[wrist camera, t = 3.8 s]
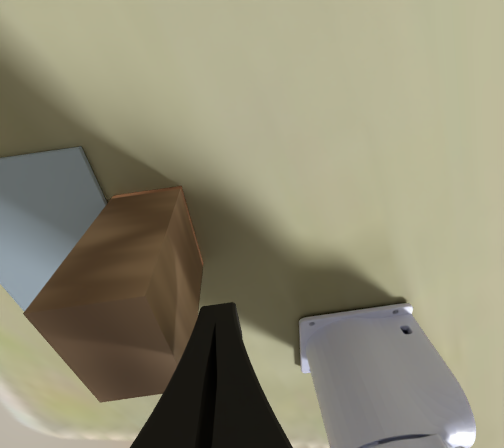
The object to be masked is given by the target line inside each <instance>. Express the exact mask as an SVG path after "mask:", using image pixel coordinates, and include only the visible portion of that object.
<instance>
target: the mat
mask: <svg viewBox="0 0 504 448" xmlns="http://www.w3.org/2000/svg"><path fill="white" fill-rule="evenodd" d="M106 205H107V201H106V199H105V197H104V195H103V192H102V190H101V188H100V186H99V184H98V182H97V179H96V177H95V175H94V173H93V171H92V169H91V166H90V164H89V162H88V160H87V158H86V156H85V153H84V151H83V149H82V147H81V146H80V147H73V148H66V149H59V150H52V151H45V152H38V153H31V154H24V155H17V156H10V157H3V158H0V284H1V285H2V286H3V287H4V289H5V290H6V291H7V292H8V293H9V294H10V296H11V297H12V298H13V299H14V300H15V301H16V303H17V304H18V305H19V306H20V307H21V308H22V310H23V311H24V312H25V310H26V309H27V308H28V306H29V305H30V304H31V302H32V301H33V300H34V299H35V297H36V296H37V295H38V293H39V292H40V291H41V289H42V288H43V287H44V286H45V284H46V283H47V282H48V280H49V279H50V278H51V276H52V275H53V274H54V272H55V271H56V270H57V269H58V267H59V266H60V265H61V263H62V262H63V261H64V259H65V258H66V257H67V256H68V254H69V253H70V252H71V250H72V249H73V248H74V246H75V245H76V244H77V242H78V241H79V240H80V239H81V237H82V236H83V235H84V233H85V232H86V231H87V229H88V228H89V227H90V226H91V224H92V223H93V222H94V220H95V219H96V218H97V216H98V215H99V214H100V212H101V211H102V210H103V209H104V207H105V206H106Z"/></svg>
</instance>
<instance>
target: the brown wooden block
mask: <svg viewBox="0 0 504 448" xmlns="http://www.w3.org/2000/svg"><path fill="white" fill-rule="evenodd" d="M202 272H203V260H202V257H201V253H200V250H199V246H198V243H197V239H196V236H195V232H194V228H193V225H192V221H191V218H190V214H189V211H188V207H187V204H186V200H185V197H184V193H183V190H182V186H177V187H170V188H163V189H156V190H149V191H142V192H135V193H128V194H121V195H114V196H113V197H112V198H111V199H110V201H109V202H108V203H107V205H106V206H105V207H104V209H103V210H102V211H101V212H100V214H99V215H98V216H97V218H96V219H95V220H94V222H93V223H92V224H91V226H90V227H89V228H88V229H87V231H86V232H85V233H84V235H83V236H82V237H81V239H80V240H79V241H78V242H77V244H76V245H75V246H74V248H73V249H72V250H71V252H70V253H69V254H68V256H67V257H66V258H65V259H64V261H63V262H62V263H61V265H60V266H59V267H58V269H57V270H56V271H55V272H54V274H53V275H52V276H51V278H50V279H49V280H48V282H47V283H46V284H45V286H44V287H43V288H42V289H41V291H40V292H39V293H38V295H37V296H36V297H35V299H34V300H33V301H32V302H31V304H30V305H29V306H28V308H27V309H26V310H25V312H24V313H23V314H24V315H25V316H26V318H27V319H28V320H29V321H30V322H31V323H32V325H33V326H34V327H35V328H36V329H37V330H38V331H39V333H40V334H41V335H42V336H43V337H44V338H45V339H46V341H47V342H48V343H49V344H50V345H51V346H52V348H53V349H54V350H55V351H56V352H57V353H58V354H59V356H60V357H61V358H62V359H63V360H64V361H65V363H66V364H67V365H68V366H69V367H70V368H71V369H72V371H73V372H74V373H75V374H76V375H77V376H78V378H79V379H80V380H81V381H82V382H83V383H84V384H85V386H86V387H87V388H88V389H89V390H90V391H91V392H92V394H93V395H94V396H95V397H96V398H97V399H98V401H99V402H107V401H114V400H121V399H128V398H135V397H142V396H149V395H156V394H163V393H164V391H165V389H166V387H167V385H168V383H169V381H170V379H171V377H172V375H173V373H174V371H175V369H176V367H177V365H178V363H179V361H180V359H181V357H182V355H183V353H184V350H185V348H186V346H187V343H188V341H189V339H190V336H191V334H192V331H193V329H194V326H195V324H196V321H197V318H198V309H199V300H200V290H201V281H202Z"/></svg>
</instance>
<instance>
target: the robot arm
mask: <svg viewBox="0 0 504 448" xmlns="http://www.w3.org/2000/svg"><path fill="white" fill-rule="evenodd" d="M412 311H413V307H412V306H411V304H409V303H403V304H396V305H389V306H381V307H374V308H367V309H360V310H353V311H346V312H339V313H332V314H325V315H318V316H311V317H304V318H302V319H300V320H299V337H300V362H301V371H302V372H303V373H311V375H312V379H313V383H314V387H315V391H316V395H317V399H318V402H319V406H320V410H321V414H322V418H323V422H324V426H325V430H326V433H327V437H328V441H329V445H330V448H469V447H471V446H472V445H473V443H474V442H475V438H476V425H475V420H474V416H473V413H472V410H471V407H470V405H469V402H468V400H467V397H466V395H465V393H464V391H463V389H462V388H461V386H460V384H459V382H458V381H457V379H456V378H455V376H454V375H453V373H452V372H451V370H450V369H449V368H448V366H447V365H446V363H445V362H444V360H443V359H442V357H441V356H440V355H439V353H438V352H437V350H436V349H435V347H434V346H433V344H432V343H431V342H430V340H429V339H428V337H427V336H426V334H425V333H424V331H423V330H422V329H421V327H420V326H419V324H418V323H417V321H416V320H415V318H414V317H413V316H412ZM130 448H293V447H292V445H291V444H290V442H289V440H288V438H287V436H286V434H285V433H284V431H283V429H282V427H281V425H280V424H279V422H278V420H277V418H276V416H275V414H274V412H273V410H272V408H271V406H270V404H269V402H268V400H267V398H266V396H265V394H264V392H263V390H262V388H261V386H260V383H259V381H258V379H257V377H256V374H255V372H254V369H253V367H252V365H251V362H250V360H249V357H248V354H247V352H246V349H245V346H244V343H243V340H242V331H241V327H240V322H239V317H238V313H237V308H236V304H235V303H233V302H231V303H224V304H217V305H210V306H203V307H202V308H201V309H200V312H199V315H198V318H197V321H196V324H195V326H194V329H193V331H192V334H191V336H190V339H189V341H188V343H187V346H186V348H185V350H184V353H183V355H182V357H181V359H180V361H179V363H178V365H177V367H176V369H175V371H174V373H173V375H172V377H171V379H170V381H169V383H168V385H167V387H166V389H165V391H164V393H163V395H162V396H161V398H160V400H159V402H158V403H157V405H156V407H155V408H154V410H153V412H152V414H151V415H150V417H149V419H148V420H147V422H146V423H145V425H144V426H143V428H142V430H141V431H140V433H139V434H138V436H137V438H136V439H135V441H134V442H133V444H132V445H131V447H130Z"/></svg>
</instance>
